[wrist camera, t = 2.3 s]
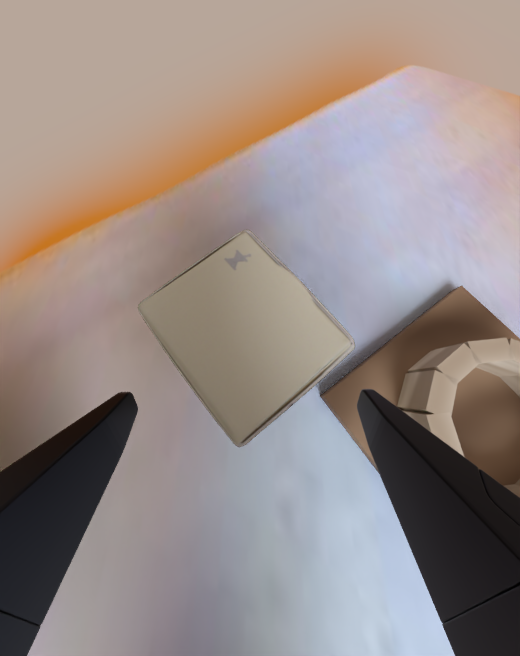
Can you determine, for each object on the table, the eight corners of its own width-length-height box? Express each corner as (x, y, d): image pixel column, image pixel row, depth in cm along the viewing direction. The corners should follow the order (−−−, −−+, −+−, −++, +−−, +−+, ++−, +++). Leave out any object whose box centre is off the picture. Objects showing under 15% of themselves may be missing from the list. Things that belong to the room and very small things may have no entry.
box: (215, 359, 18) (121, 298, 6) (254, 328, 19) (242, 216, 7) (254, 410, 17) (234, 461, 5) (294, 374, 18) (366, 341, 6)
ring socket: (619, 446, 16) (728, 463, 12) (481, 607, 14) (566, 691, 10) (452, 290, 20) (497, 266, 16) (320, 396, 18) (336, 397, 14)
